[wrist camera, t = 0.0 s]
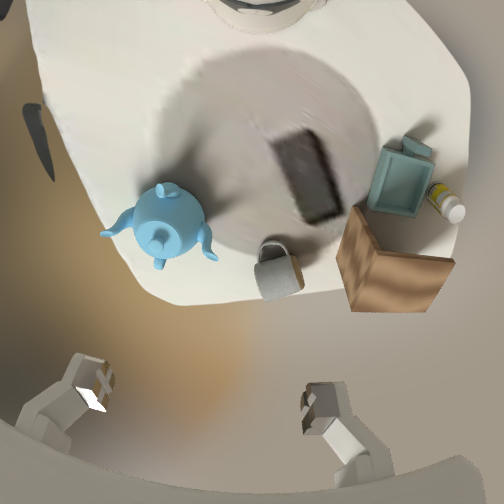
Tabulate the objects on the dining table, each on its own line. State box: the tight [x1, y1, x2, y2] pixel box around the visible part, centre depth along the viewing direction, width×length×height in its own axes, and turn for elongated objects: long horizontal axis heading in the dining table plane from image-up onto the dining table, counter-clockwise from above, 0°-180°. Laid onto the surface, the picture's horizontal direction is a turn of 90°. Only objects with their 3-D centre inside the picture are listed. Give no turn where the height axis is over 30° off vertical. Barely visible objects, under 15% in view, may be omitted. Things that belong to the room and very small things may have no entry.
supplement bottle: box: [427, 182, 466, 224], centre depth 42 cm, size 5×5×8 cm
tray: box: [366, 136, 435, 218], centre depth 42 cm, size 14×10×5 cm
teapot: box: [100, 182, 218, 270], centre depth 46 cm, size 15×15×10 cm
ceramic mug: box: [254, 240, 305, 302], centre depth 53 cm, size 11×8×8 cm
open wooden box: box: [336, 206, 455, 313], centre depth 47 cm, size 12×16×14 cm
